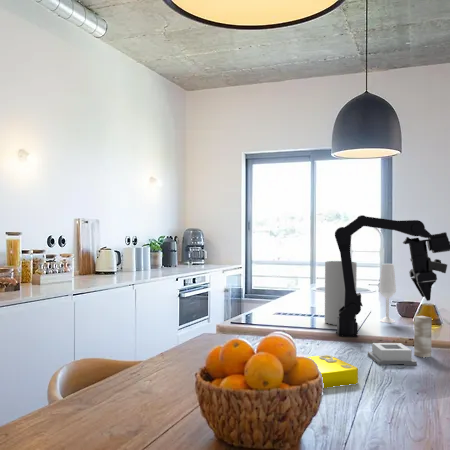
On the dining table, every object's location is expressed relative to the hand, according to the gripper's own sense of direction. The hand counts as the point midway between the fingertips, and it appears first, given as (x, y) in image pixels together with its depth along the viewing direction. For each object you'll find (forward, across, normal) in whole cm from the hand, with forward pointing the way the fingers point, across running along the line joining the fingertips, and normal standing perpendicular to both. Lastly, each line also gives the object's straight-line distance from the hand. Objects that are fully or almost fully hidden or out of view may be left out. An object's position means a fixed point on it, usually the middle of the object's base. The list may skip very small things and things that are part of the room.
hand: (426, 298), depth 180 cm
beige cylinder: (+13, -24, +7) cm, 29 cm away
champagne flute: (+13, +32, +12) cm, 36 cm away
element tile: (+9, -55, +38) cm, 67 cm away
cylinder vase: (+10, +22, +31) cm, 39 cm away
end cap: (+12, -32, +17) cm, 38 cm away
